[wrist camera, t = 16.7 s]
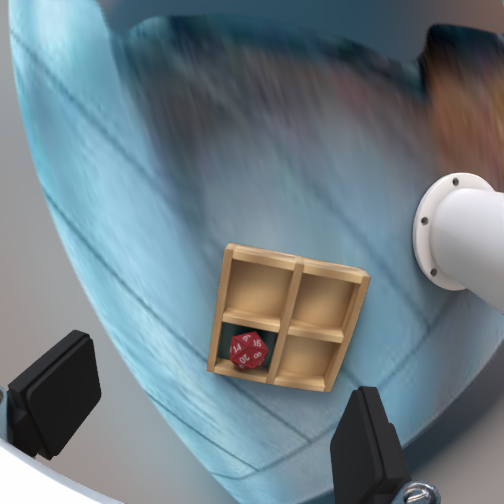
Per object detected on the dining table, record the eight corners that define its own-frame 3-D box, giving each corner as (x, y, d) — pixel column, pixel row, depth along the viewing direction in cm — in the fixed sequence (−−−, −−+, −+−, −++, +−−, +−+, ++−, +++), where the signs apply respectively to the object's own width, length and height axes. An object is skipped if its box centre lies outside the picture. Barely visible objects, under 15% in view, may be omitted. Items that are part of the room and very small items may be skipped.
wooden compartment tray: (364, 269, 29) (371, 277, 27) (327, 378, 33) (330, 392, 30) (229, 242, 30) (224, 248, 28) (211, 358, 33) (206, 371, 31)
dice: (248, 316, 31) (243, 335, 27) (277, 344, 31) (277, 366, 28) (222, 337, 32) (215, 357, 28) (252, 363, 32) (248, 386, 28)
